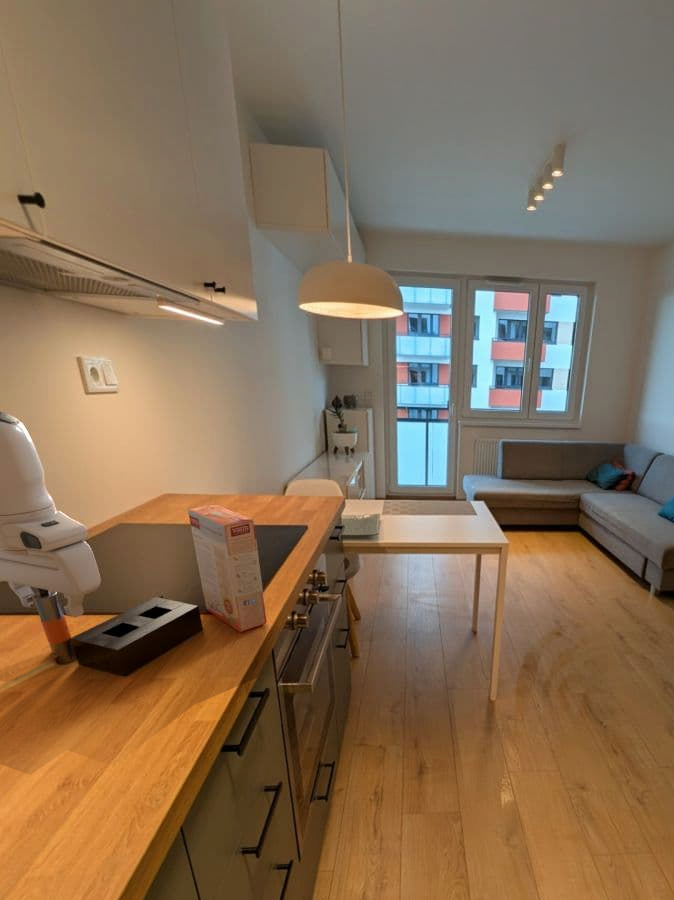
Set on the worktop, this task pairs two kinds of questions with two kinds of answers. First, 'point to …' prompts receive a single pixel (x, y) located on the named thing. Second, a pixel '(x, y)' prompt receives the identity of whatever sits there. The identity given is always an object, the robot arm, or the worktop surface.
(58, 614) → the orange banded battery
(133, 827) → the worktop surface
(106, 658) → the holder
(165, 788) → the worktop surface
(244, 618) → the cracker box
